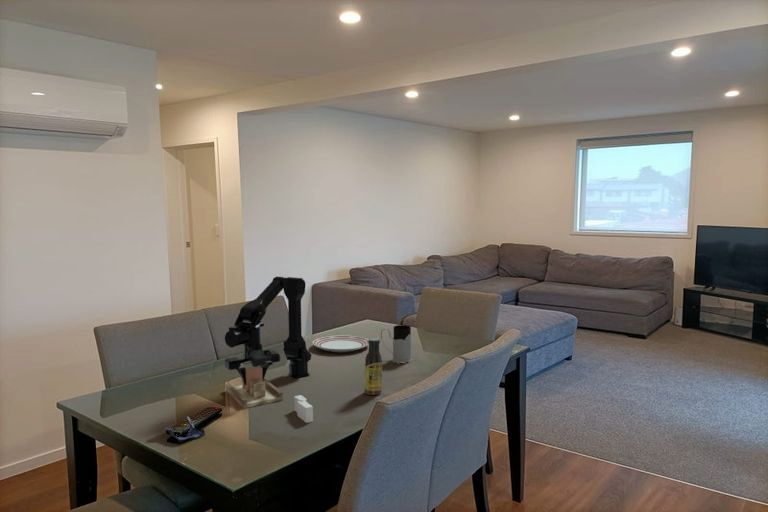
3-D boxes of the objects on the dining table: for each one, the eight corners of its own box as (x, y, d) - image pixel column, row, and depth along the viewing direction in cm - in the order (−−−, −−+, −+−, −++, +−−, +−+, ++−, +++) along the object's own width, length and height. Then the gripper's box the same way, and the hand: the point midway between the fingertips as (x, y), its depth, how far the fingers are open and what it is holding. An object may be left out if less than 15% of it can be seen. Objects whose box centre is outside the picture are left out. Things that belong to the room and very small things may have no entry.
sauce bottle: (369, 397, 187) (368, 342, 185) (361, 391, 193) (361, 338, 191) (385, 394, 190) (385, 340, 188) (377, 388, 196) (377, 336, 194)
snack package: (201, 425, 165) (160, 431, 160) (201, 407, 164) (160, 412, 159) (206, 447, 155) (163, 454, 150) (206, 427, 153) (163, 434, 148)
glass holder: (409, 364, 226) (409, 330, 224) (377, 361, 230) (377, 327, 229) (414, 358, 234) (414, 325, 232) (384, 355, 238) (384, 323, 237)
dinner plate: (338, 337, 272) (338, 331, 272) (381, 345, 256) (381, 339, 256) (300, 349, 250) (300, 342, 250) (344, 359, 234) (344, 352, 234)
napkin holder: (317, 426, 164) (316, 408, 163) (281, 425, 165) (280, 407, 164) (326, 408, 179) (326, 391, 178) (293, 407, 180) (293, 391, 179)
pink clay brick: (260, 385, 192) (260, 366, 191) (262, 386, 190) (262, 367, 190) (244, 388, 189) (244, 369, 188) (246, 389, 187) (245, 370, 186)
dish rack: (262, 383, 202) (262, 368, 201) (282, 399, 185) (282, 382, 185) (226, 391, 194) (225, 374, 194) (243, 408, 178) (243, 390, 177)
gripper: (233, 350, 176) (234, 395, 178) (285, 341, 186) (286, 384, 188) (223, 342, 185) (225, 385, 187) (273, 335, 195) (275, 376, 197)
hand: (253, 383), depth 189 cm, fingers closed on pink clay brick, 6 cm apart
